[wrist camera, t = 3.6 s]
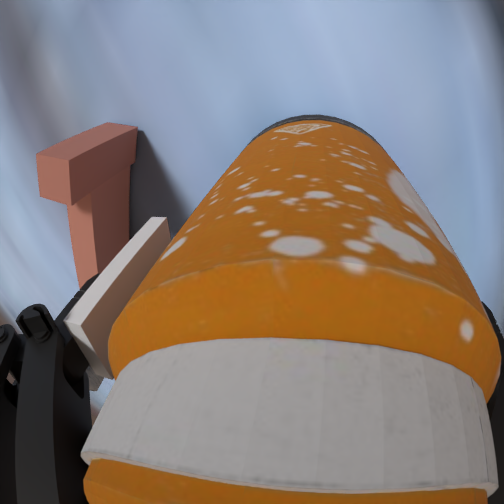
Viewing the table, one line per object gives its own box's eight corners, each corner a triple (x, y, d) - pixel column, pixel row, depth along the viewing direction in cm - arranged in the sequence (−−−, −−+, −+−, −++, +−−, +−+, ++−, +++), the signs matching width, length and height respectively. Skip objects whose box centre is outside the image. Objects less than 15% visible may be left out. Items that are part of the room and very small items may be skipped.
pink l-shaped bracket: (111, 284, 23) (72, 337, 18) (107, 122, 16) (36, 153, 11) (134, 293, 23) (98, 349, 18) (137, 126, 16) (68, 160, 11)
